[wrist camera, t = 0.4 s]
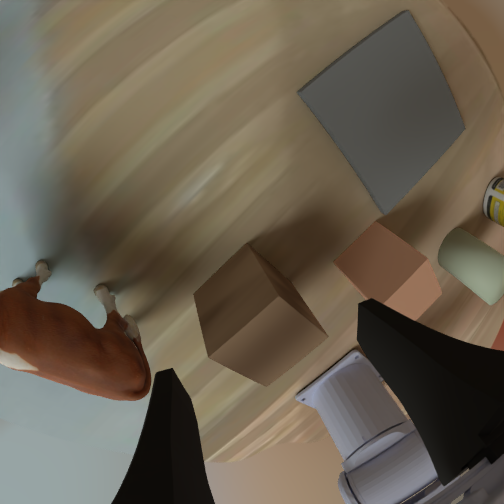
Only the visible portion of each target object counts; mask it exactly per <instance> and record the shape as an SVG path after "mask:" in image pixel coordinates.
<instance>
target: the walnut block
mask: <svg viewBox="0 0 504 504" xmlns="http://www.w3.org/2000/svg"><path fill="white" fill-rule="evenodd" d="M193 295H194V299H195V304H196V308H197V313H198V317H199V321H200V326H201V330H202V334H203V338H204V342H205V346H206V350H207V354H208V358H210V359H212V360H214V361H216V362H218V363H220V364H222V365H223V366H225V367H227V368H229V369H231V370H233V371H235V372H237V373H239V374H241V375H243V376H245V377H247V378H249V379H251V380H253V381H255V382H257V383H260V384H262V385H264V386H266V387H267V386H268V385H270V384H271V383H272V382H274V381H275V380H276V379H277V378H279V377H280V376H281V375H283V374H284V373H285V372H286V371H288V370H289V369H290V368H292V367H293V366H294V365H295V364H297V363H298V362H299V361H300V360H301V359H303V358H304V357H305V356H306V355H308V354H309V353H310V352H311V351H312V350H314V349H315V348H316V347H317V346H318V345H320V344H321V343H322V342H323V341H324V340H325V339H327V338H328V335H327V334H326V332H325V331H324V329H323V328H322V326H321V325H320V323H319V322H318V321H317V319H316V318H315V316H314V315H313V313H312V312H311V310H310V309H309V307H308V306H307V305H306V303H305V302H304V300H303V299H302V297H301V296H300V294H299V293H298V292H297V290H296V289H295V287H294V286H293V284H292V283H291V282H290V281H289V280H288V279H287V278H285V277H284V276H283V275H282V274H281V273H280V272H279V271H278V270H277V269H275V268H274V267H273V266H272V265H271V264H270V263H269V262H268V261H267V260H266V259H264V258H263V257H262V256H261V255H260V254H259V253H258V252H257V251H256V250H254V249H253V248H252V247H251V246H250V245H249V244H248V243H246V244H245V245H244V246H243V247H242V248H241V249H240V250H238V251H237V252H236V253H235V254H234V255H233V256H232V257H231V258H230V259H229V260H228V261H227V262H226V263H225V264H224V265H223V266H222V267H221V268H220V269H219V270H218V271H217V272H216V273H215V274H214V275H213V276H212V277H211V278H209V279H208V280H207V281H206V282H205V283H204V284H203V285H202V286H201V287H200V288H199V289H198V290H197V291H196V292H195V293H194V294H193Z"/></svg>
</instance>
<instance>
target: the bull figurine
mask: <svg viewBox="0 0 504 504" xmlns="http://www.w3.org/2000/svg"><path fill="white" fill-rule="evenodd" d="M35 266H36V273H37V275H36V277H31V278H29V279H28V280H27V281H26V282H23V281H22V280H20V279H15V280H14V281H13V283H12V286H13V287H12V288H8V289H5V290H3V291H0V363H1V364H3V365H5V366H7V367H9V368H11V369H14V370H18V371H24V372H28V373H32V374H35V375H37V376H40V377H43V378H46V379H49V380H52V381H55V382H58V383H61V384H64V385H67V386H70V387H73V388H75V389H77V390H80V391H82V392H85V393H88V394H93V395H97V396H101V397H105V398H109V399H113V400H128V401H136V400H139V399H142V398H143V397H145V396H146V395H147V394H148V392H149V390H150V386H151V373H150V368H149V364H148V361H147V358H146V356H145V354H144V351H143V348H142V344H141V337H140V332H139V329H138V326H137V325H136V323H135V321H134V320H133V319H132V317H131V316H130V315H125V317H124V319H123V318H122V317H121V316H120V314H119V313H118V311H117V309H116V304H115V295H110V293H109V291H108V288H107V287H106V286H104V285H98V286H96V287H95V289H94V293H95V295H96V296H97V298H98V300H99V301H100V302H101V303H102V305H103V306H104V307H105V309H106V313H107V321H106V323H105V325H104V327H103V328H101V329H96V328H95V327H93V325H92V324H91V323H90V322H89V321H88V320H87V319H86V318H85V317H84V316H83V315H82V314H81V313H80V312H78V311H77V310H75V309H73V308H71V307H69V306H67V305H64V304H60V303H53V302H45V301H40V300H38V299H37V293H38V292H39V291H40V289H41V285H42V283H43V282H45V281H47V280H48V278H49V277H50V276H51V273H52V272H51V271H49V270H48V265H47V263H46V262H44V261H38V262H37V263H36V265H35ZM126 335H127V336H128V337H127V336H126ZM134 344H135V345H134ZM136 347H137V348H136Z"/></svg>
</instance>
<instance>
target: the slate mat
mask: <svg viewBox="0 0 504 504" xmlns="http://www.w3.org/2000/svg"><path fill="white" fill-rule="evenodd" d="M297 93H298V94H299V96H300V97H301V98H302V99H303V101H304V102H305V103H306V104H307V106H308V107H309V108H310V110H311V111H312V112H313V113H314V115H315V116H316V117H317V119H318V120H319V121H320V123H321V124H322V125H323V127H324V128H325V129H326V131H327V132H328V133H329V135H330V136H331V137H332V139H333V140H334V142H335V143H336V144H337V146H338V147H339V149H340V150H341V152H342V153H343V154H344V156H345V157H346V159H347V160H348V162H349V163H350V165H351V166H352V167H353V169H354V170H355V172H356V173H357V175H358V176H359V178H360V180H361V181H362V183H363V184H364V186H365V187H366V189H367V190H368V192H369V193H370V195H371V197H372V198H373V200H374V201H375V203H376V205H377V206H378V208H379V210H380V211H381V212H382V213H383V214H385V215H387V214H388V213H389V211H390V210H391V209H392V208H393V207H394V206H395V205H396V204H397V203H398V202H399V201H400V200H401V199H402V198H403V197H404V196H405V195H406V194H407V193H408V192H409V191H410V190H411V189H412V188H413V186H414V185H415V184H416V183H417V182H418V181H419V180H420V179H421V178H422V177H423V176H424V175H425V174H426V173H427V171H428V170H429V169H430V168H431V167H432V166H433V165H434V164H435V163H436V162H437V161H438V159H439V158H440V157H441V156H442V155H443V154H444V153H445V152H446V150H447V149H448V148H449V147H450V146H451V145H452V144H453V143H454V141H455V140H456V139H457V138H458V137H459V136H460V135H461V133H462V132H463V131H464V130H465V126H464V123H463V121H462V118H461V115H460V113H459V110H458V108H457V105H456V103H455V100H454V98H453V95H452V93H451V91H450V88H449V86H448V84H447V82H446V80H445V77H444V75H443V73H442V71H441V69H440V67H439V65H438V63H437V61H436V59H435V57H434V55H433V53H432V51H431V49H430V47H429V45H428V43H427V42H426V40H425V38H424V36H423V34H422V33H421V31H420V29H419V27H418V26H417V24H416V22H415V21H414V19H413V17H412V16H411V14H410V12H409V11H408V10H406V11H402V12H400V13H399V14H398V15H396V16H395V17H393V18H392V19H390V20H389V21H387V22H386V23H385V24H383V25H382V26H380V27H379V28H378V29H376V30H375V31H373V32H372V33H371V34H369V35H368V36H367V37H365V38H364V39H363V40H361V41H360V42H359V43H357V44H356V45H355V46H353V47H352V48H351V49H349V50H348V51H347V52H345V53H344V54H343V55H342V56H340V57H339V58H338V59H336V60H335V61H334V62H333V63H331V64H330V65H329V66H328V67H326V68H325V69H324V70H323V71H321V72H320V73H319V74H318V75H317V76H315V77H314V78H313V79H312V80H310V81H309V82H308V83H307V84H306V85H304V86H303V87H302V88H301V89H300V90H299V91H297Z"/></svg>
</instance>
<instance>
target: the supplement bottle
mask: <svg viewBox="0 0 504 504" xmlns="http://www.w3.org/2000/svg"><path fill="white" fill-rule="evenodd" d="M483 209H484V213H485V215H486V217H488V218H489V219H491V220H492V221H494V222H496V223H498V224H499V225H501V226H503V227H504V178H501V177H496V178H494V179H493V180H492V181H491V182H490V184H489V186H488V188H487V190H486V193H485V197H484V202H483Z"/></svg>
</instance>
